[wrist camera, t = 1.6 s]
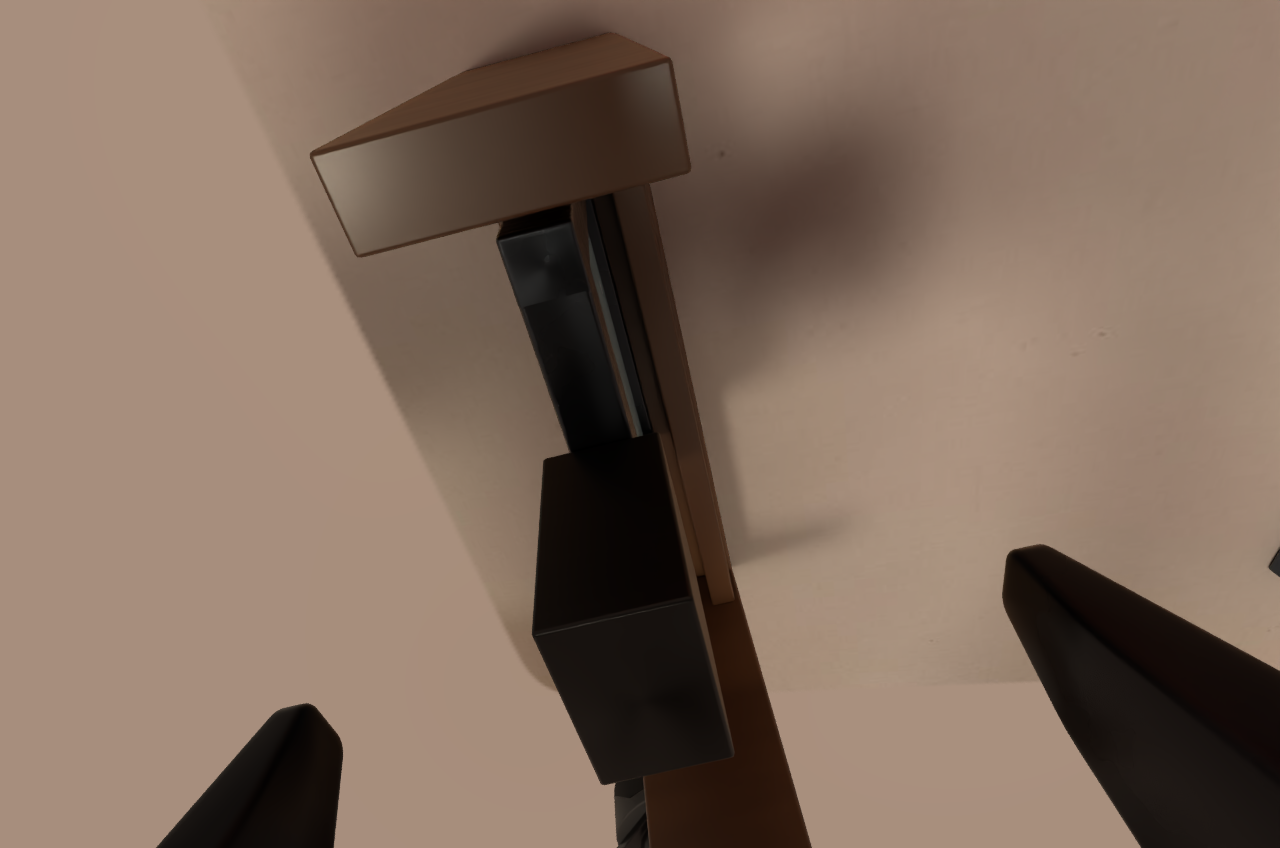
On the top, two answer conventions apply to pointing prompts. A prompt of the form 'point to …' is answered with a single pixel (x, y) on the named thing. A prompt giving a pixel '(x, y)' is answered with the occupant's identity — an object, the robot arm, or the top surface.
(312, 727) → the robot arm
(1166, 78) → the top surface
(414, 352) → the top surface
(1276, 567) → the button box
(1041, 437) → the top surface
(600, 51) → the window frame
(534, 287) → the sash
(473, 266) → the top surface
